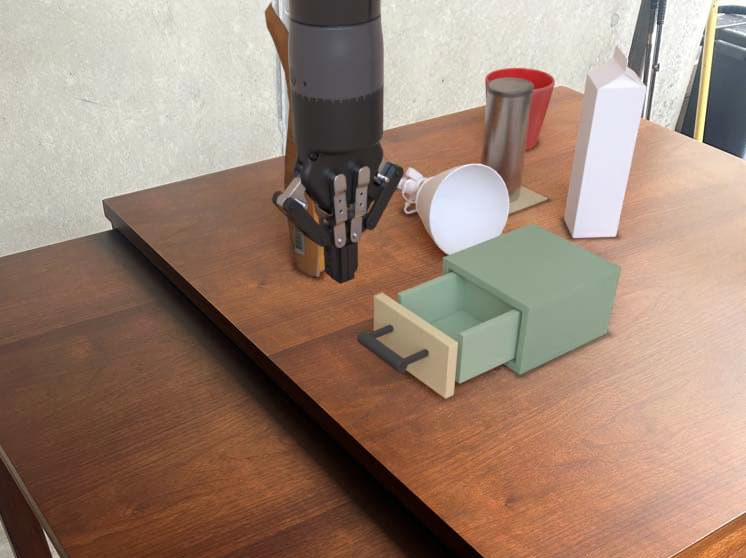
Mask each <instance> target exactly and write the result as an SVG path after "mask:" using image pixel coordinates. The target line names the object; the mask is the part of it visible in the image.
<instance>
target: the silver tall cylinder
mask: <svg viewBox="0 0 746 558" xmlns="http://www.w3.org/2000/svg"><path fill="white" fill-rule="evenodd" d="M533 88H534V85H533V83H532V82H530V81H528V80H525V79H521V78H513V77H506V78H498V79H494V80H491V81H490V82H488V84H487V99H486V98H485V111H484V123H483V135H482V145H481V146H482V147H481V159H480V164H483V165H486V166H489V167H490V168H492V169H493V170H495V171H496V172H497V173H498V174H499V175H500V176H501V178H502V179H503V181H504V183H505V185H506V188H507V191H508V196H509V203H511V202H514V201H516V200H517V199H518V198H519V196H520V189H521V186H522V180H523V172H524V163H525V156H526V150H525V148H526V139H527V131H528V123H529V115H530V106H531V98H532V92H533Z"/></svg>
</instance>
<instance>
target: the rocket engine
mask: <svg viewBox="0 0 746 558" xmlns="http://www.w3.org/2000/svg"><path fill="white" fill-rule="evenodd" d="M404 175H405V176H403V177H402V179H401V180H400V182H399V184H398V186H397V188H396V189H399V190H401V195H402V196H401V197H402V198H403V199H404V200H405V202H404V207H403V211H404V213H405V214H406V215H410V214H414V213H417V215H418V217H419V218H420V220H421V221H422V222H421V223H422V224H423V227H424V229H425V231H426V232H427V234H428V235H429V237H430V238H431V239H432V242H434V244H435V245H436V246H437V247H438V248H439V249H440V250H441V252H443V253H444V254H446V255H447V256H448V255H451V254H453V253H456V252H459V251H461V250H464V249H466V248H469V247H472V246H474V245H477V244H479V243H482V242H485V241H487V240H490V239H492V238H495V237H497V236H500V235H502V233H503V231H504V229H505V227H506V224H507V222H508V218H509V214H508V212H509V196H508V191H507V188H506V185H505V183H504V181H503V179H502V178H501V176H500V175H499V174H498V173H497V172H496V171H495V170H493V169H492V168H490V167H489V166H486V165H483V164H481V163H468V164H462V165H457V166H454V167H451V168H449V169H447V170H444V171H442V172H440V173H437V174H436V175H434V176H430V177H424V176H423V174H421V173H420V172H419V171H418V170H416V169H415V168H413V167H411V166H409V167H408V169H407V171H406V172H405V173H404ZM408 178H409V179H408ZM405 194H407V195H409V198H407V197H406V196H405ZM411 204H415V209H412V210H410V211H408V210H407V209H408V208H410V207H411Z"/></svg>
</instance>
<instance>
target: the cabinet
mask: <svg viewBox="0 0 746 558" xmlns="http://www.w3.org/2000/svg"><path fill="white" fill-rule="evenodd" d="M453 271H454V272H456V273H458V274H459V275H461V276H463V277H465V278H466V279H468V280H470V281H471V282H473V283H475V284H476V285H478V286H480V287H481V288H483V289H485V290H487V291H488V292H490V293H492V294H493V295H495V296H497V297H498V298H500V299H502V300H503V301H505V302H507V303H509V304H510V305H512V306H514V307H515V308H517V309H519V310H520V311H522V319H521V327H520V334H519V341H518V349H517V356H516V358H514V359H512V360H510V361H507V362H505V363H503V364H502V365H504V366H505V367H507V368H508V369H510V370H511V371H513V372H514V373H516V374H518V376H520V375H523V374H525V373H527V372H529V371H531V370H534V369H536V368H538V367H539V366H542V365H544V364H546V363H549V362H550V361H552V360H554V359H556V358H559V357H560V356H562V355H565V354H567V353H569V352H571V351H573V350H576V349H577V348H579V347H581V346H583V345H586V344H588V343H591V342H592V341H595V340H597V339H598V338H601V337H602V336H605V335H607V334H608V330H609V326H610V321H611V316H612V313H613V312H612V311H613V307H614V303H615V299H616V294H617V290H618V284H619V280H620V275H621V271H622V267H621V266H619V265H617V264H616V263H613V262H611V261H609V260H608V259H605V258H603V257H601V256H599V255H597V254H595V253H593V252H592V251H590V250H587V249H585V248H583V247H581V246H579V245H578V244H576V243H573V242H571V241H570V240H568V239H565V238H563V237H561V236H560V235H557V234H555V233H553V232H551V231H550V230H547V229H545V228H543V227H541V226H539V225H538V224H535V223H534V222H531V223H529V224H526V225H524V226H520V227H519V228H515V229H514V230H510V231H508V232H505V233H503V234H501V235H500V236H497V237H495V238H492V239H490V240H487V241H485V242H482V243H479V244H477V245H474V246H472V247H469V248H466V249H464V250H461V251H459V252H456V253H453V254H451V255H448V254H447V255H446V256H443V257H442V270H441V276H442V275H445V274H447V273H450V272H453Z"/></svg>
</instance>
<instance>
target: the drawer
mask: <svg viewBox="0 0 746 558" xmlns="http://www.w3.org/2000/svg"><path fill="white" fill-rule="evenodd" d="M521 319H522V311H520V310H519V309H517V308H515V307H514V306H512V305H510V304H509V303H507V302H505V301H503V300H502V299H500V298H498V297H497V296H495V295H493V294H492V293H490V292H488V291H487V290H485V289H483V288H481V287H480V286H478V285H476V284H475V283H473V282H471V281H470V280H468V279H466V278H465V277H463V276H461V275H459V274H458V273H456V272H454V271H453V272H450V273H447V274H445V275H442V274H441V275H440V276H437V277H435V278H432V279H430V280H428V281H425V282H422V283H420V284H418V285H414V286H412V287H409V288H407V289H404V290H402V291H400V292H397V293H396V300H394V299H393V298H392V297H390V296H388V295H387V294H385V293H384V292H380V293H377V294H375V295H373V331H371V332H368V331H366V330H362V331H360V332H359V333H358V334H357V338H356V341H357V343H358V344H360V345H361V346H363V347H364V348H365V349H367V350H368V351H369V352H371V353H372V354H373V355H374V356H375V357H377V358H379V359H380V360H382V361H383V362H384V363H385V364H387V365H388V366H390V367H391V368H393V369H394V371H396V372H398V373H403V372H405V371H407V372H408V373H410V374H411V375H412V376H414V377H415V378H416V379H418V380H419V381H420V382H422V383H423V384H425V385H426V386H427V387H429V388H430V389H431V390H433V391H434V392H436V393H437V394H438V395H439V396H441V397H442V398H444V399H445V400H446V399H449V398H450V397H452V396H454V395H455V385H456V383H458V384H459V385H460V384H462V383H465V382H466V381H469V380H471V379H473V378H475V377H478V376H479V375H481V374H484V373H486V372H488V371H490V370H492V369H495V368H497V367H499V366H502V365H504V364H503V363H505V362H507V361H510V360H512V359H514V358H516V356H517V349H518V341H519V334H520V327H521Z"/></svg>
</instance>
